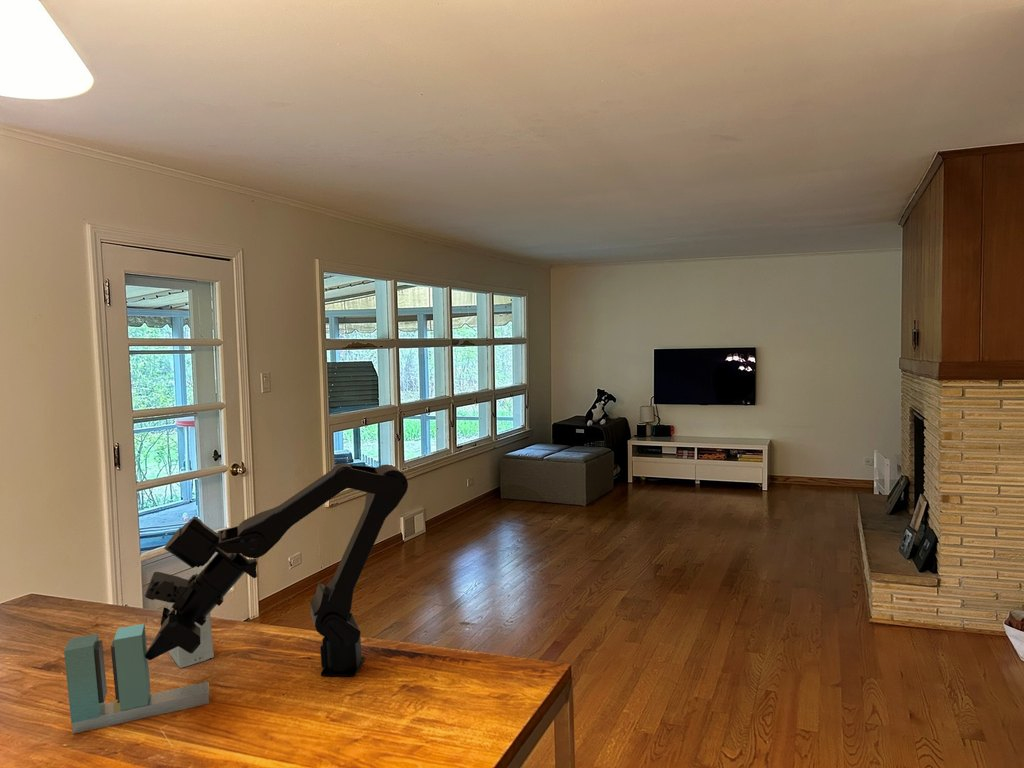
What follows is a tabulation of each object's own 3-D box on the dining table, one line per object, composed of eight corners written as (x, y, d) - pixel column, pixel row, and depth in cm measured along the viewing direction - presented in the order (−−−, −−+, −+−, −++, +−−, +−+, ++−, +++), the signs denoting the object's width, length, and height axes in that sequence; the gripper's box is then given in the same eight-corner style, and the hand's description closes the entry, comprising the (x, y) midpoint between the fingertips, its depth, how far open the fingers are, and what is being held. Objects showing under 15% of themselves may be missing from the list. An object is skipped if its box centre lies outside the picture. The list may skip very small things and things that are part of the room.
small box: (214, 658, 136) (209, 593, 135) (179, 669, 132) (174, 602, 131) (202, 644, 142) (197, 582, 141) (168, 654, 138) (163, 590, 137)
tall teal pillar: (150, 691, 120) (144, 623, 119) (148, 704, 116) (141, 634, 114) (120, 697, 118) (113, 629, 117) (116, 711, 114) (109, 640, 113)
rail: (209, 691, 124) (203, 614, 122) (208, 704, 119) (202, 625, 118) (78, 719, 116) (70, 638, 115) (72, 735, 112) (64, 650, 110)
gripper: (177, 540, 126) (113, 611, 123) (171, 573, 109) (96, 656, 106) (228, 575, 130) (166, 644, 127) (229, 612, 113) (158, 694, 110)
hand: (147, 657), depth 117 cm, fingers closed, pressing on tall teal pillar
